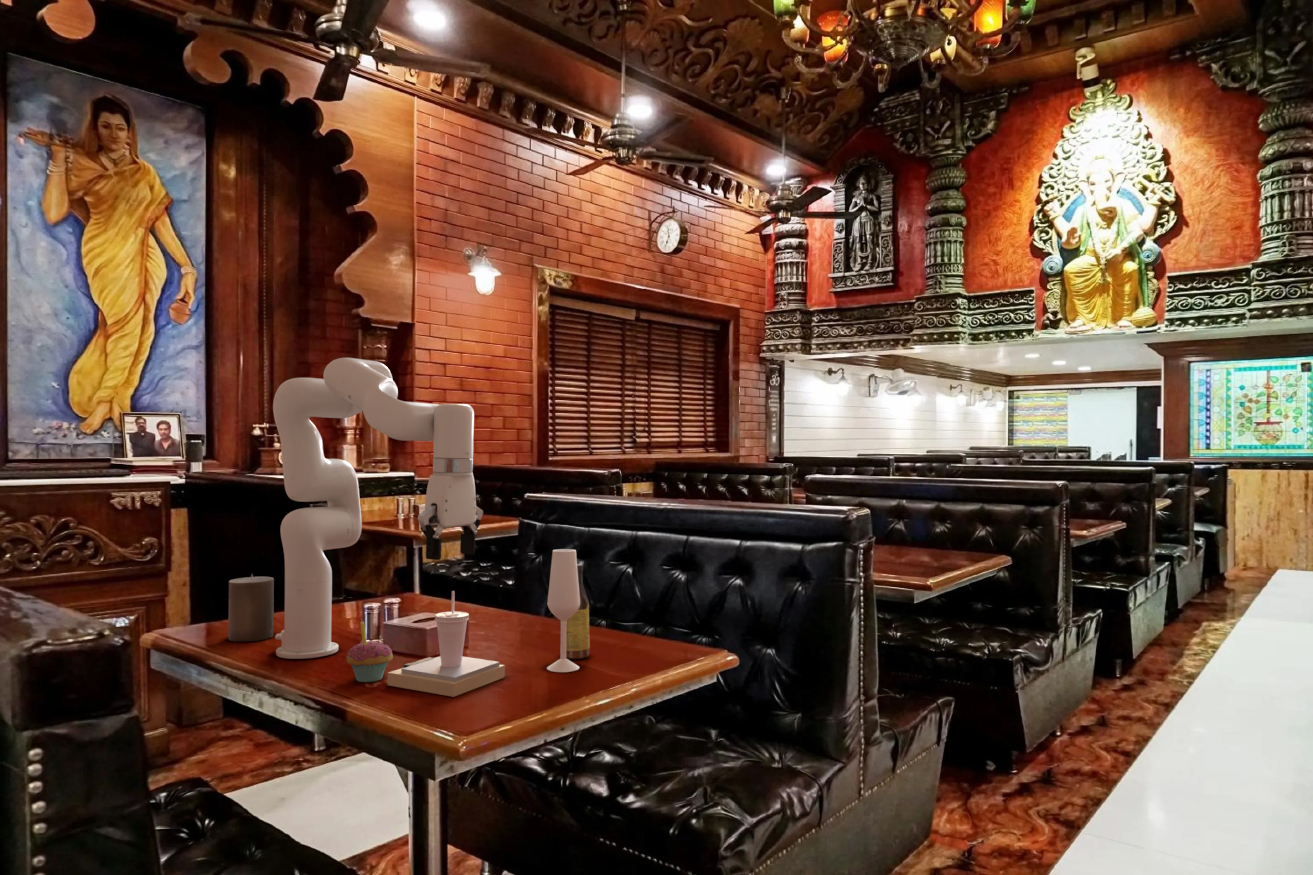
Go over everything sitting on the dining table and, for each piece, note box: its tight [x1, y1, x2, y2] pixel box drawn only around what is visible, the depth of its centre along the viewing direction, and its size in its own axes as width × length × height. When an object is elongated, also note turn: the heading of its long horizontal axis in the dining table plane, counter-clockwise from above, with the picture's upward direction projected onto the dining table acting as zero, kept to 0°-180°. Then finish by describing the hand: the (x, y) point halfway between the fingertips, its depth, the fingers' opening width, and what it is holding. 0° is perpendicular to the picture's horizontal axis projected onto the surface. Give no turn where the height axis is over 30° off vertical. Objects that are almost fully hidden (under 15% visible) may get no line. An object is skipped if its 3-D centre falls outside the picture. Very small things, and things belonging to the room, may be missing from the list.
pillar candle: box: [227, 573, 275, 643], centre depth 196 cm, size 10×10×15 cm
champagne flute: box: [546, 548, 580, 673], centre depth 170 cm, size 7×7×24 cm
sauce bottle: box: [559, 563, 591, 660], centre depth 180 cm, size 7×6×20 cm
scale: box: [386, 655, 506, 698], centre depth 159 cm, size 16×15×3 cm
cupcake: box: [346, 617, 394, 683], centre depth 161 cm, size 9×8×12 cm
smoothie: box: [434, 590, 470, 668], centre depth 159 cm, size 6×6×14 cm
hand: (450, 556), depth 160 cm, fingers open, 9 cm apart
